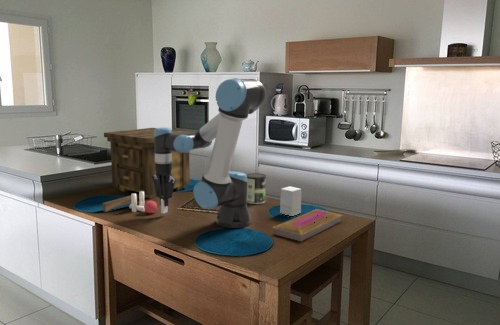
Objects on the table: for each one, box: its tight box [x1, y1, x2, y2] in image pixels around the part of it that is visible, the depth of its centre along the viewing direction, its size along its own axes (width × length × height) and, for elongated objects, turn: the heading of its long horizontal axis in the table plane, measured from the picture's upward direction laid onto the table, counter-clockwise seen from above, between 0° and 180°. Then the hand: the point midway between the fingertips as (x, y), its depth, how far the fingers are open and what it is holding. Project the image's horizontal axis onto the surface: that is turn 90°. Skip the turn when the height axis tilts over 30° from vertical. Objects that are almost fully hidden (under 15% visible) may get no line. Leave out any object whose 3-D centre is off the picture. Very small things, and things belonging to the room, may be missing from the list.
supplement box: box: [279, 185, 302, 217], centre depth 205 cm, size 7×7×13 cm
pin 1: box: [131, 192, 138, 213], centre depth 206 cm, size 2×2×8 cm
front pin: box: [128, 204, 146, 212], centre depth 209 cm, size 2×2×8 cm
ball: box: [144, 200, 158, 214], centre depth 204 cm, size 6×6×6 cm
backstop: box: [102, 194, 139, 213], centre depth 213 cm, size 2×20×4 cm, turn 148°
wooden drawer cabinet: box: [103, 127, 193, 199], centre depth 244 cm, size 35×35×33 cm
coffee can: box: [246, 172, 267, 205], centre depth 226 cm, size 10×10×14 cm
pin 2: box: [138, 191, 146, 207], centre depth 210 cm, size 2×2×8 cm
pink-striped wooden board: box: [271, 208, 344, 242], centre depth 188 cm, size 35×14×6 cm, turn 141°
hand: (164, 212), depth 199 cm, fingers closed
